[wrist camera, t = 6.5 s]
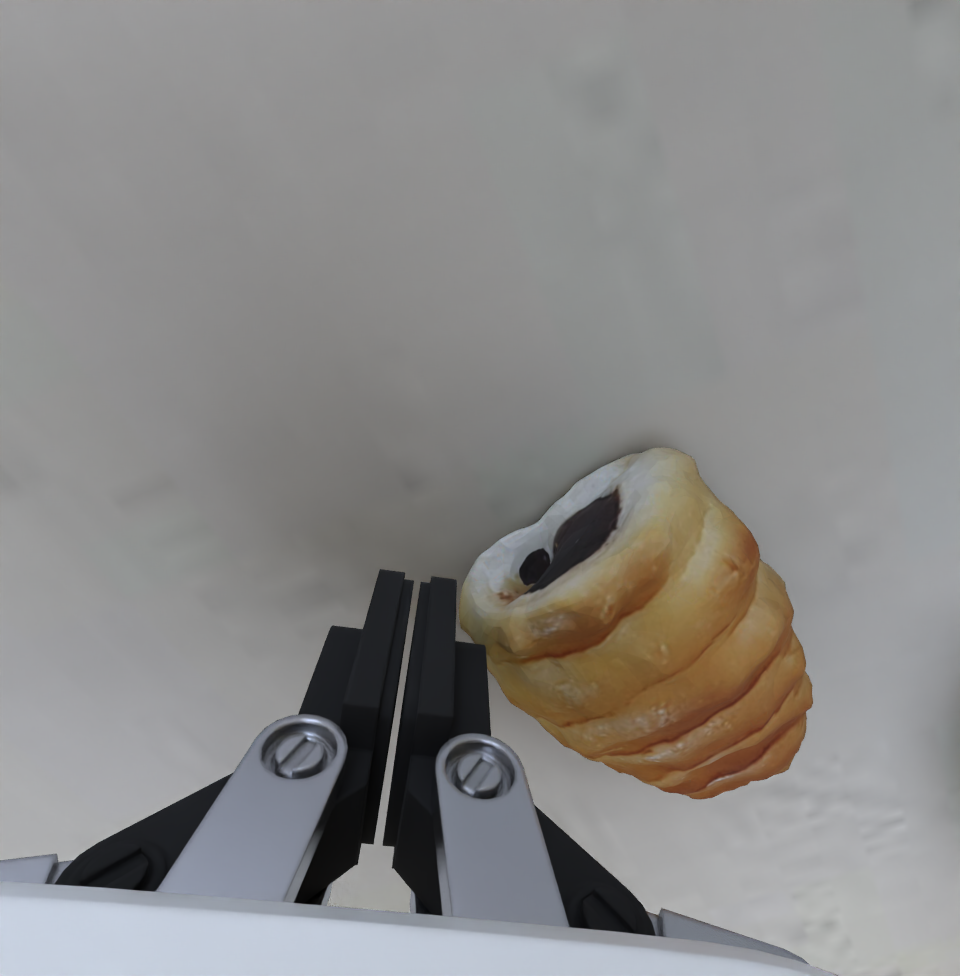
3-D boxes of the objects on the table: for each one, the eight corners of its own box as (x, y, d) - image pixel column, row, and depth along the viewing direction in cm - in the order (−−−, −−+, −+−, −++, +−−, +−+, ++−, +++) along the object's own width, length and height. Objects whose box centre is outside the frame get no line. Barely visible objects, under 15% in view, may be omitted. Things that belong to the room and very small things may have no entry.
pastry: (838, 666, 16) (947, 785, 12) (634, 784, 17) (677, 921, 14) (650, 409, 13) (719, 467, 9) (426, 578, 14) (412, 682, 11)
